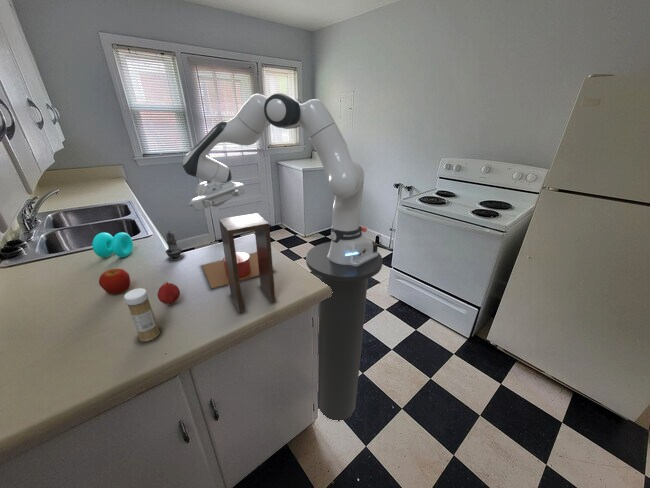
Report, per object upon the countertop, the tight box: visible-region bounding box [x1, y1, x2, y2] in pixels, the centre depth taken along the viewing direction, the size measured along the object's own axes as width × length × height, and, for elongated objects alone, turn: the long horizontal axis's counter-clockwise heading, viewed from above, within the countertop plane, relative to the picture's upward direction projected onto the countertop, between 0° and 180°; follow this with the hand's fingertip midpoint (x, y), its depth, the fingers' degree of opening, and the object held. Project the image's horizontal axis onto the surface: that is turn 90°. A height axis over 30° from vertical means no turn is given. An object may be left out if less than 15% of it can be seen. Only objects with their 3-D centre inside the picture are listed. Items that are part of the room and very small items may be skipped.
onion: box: [156, 281, 181, 306], centre depth 80 cm, size 6×6×8 cm
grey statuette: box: [165, 230, 184, 262], centre depth 106 cm, size 6×6×12 cm
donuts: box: [91, 231, 134, 258], centre depth 107 cm, size 10×10×10 cm
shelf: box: [218, 212, 276, 314], centre depth 80 cm, size 11×10×26 cm
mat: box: [201, 252, 275, 290], centre depth 101 cm, size 22×18×1 cm
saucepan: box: [222, 251, 251, 278], centre depth 102 cm, size 9×22×6 cm, turn 31°
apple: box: [98, 268, 131, 295], centre depth 86 cm, size 8×8×8 cm
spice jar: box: [123, 287, 161, 342], centre depth 67 cm, size 5×5×13 cm
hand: (225, 198), depth 96 cm, fingers open, 8 cm apart
